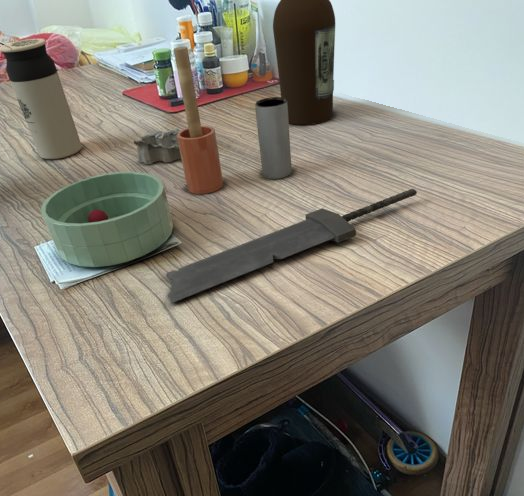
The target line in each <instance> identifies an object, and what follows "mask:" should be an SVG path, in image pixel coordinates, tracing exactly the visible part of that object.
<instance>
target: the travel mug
mask: <svg viewBox="0 0 524 496" xmlns="http://www.w3.org/2000/svg"><path fill="white" fill-rule="evenodd" d="M46 43H47V41H46V39H45V38H28V39H22V40H17V41H13V42H9V43H5V44H3V45H1V46H0V52H2V54H3V56H4V58H5V60H6V66H5V71H6V75H7V78H8V79H9V82H10V85H11V87H12V89H13V92H14V95H15V98H16V100H17V102H18V105H19V108H20V111H21V112H22V116H23V118H24V121H25V123H26V126H27V129H28V131H29V133H30V136H31V138H32V141H33V143H34V147H35V149H36V152H37V154H38V157H40V158H42V159H45V160H59V159H65V158H67V157H71V156H73V155H75V154H76V153H78V152H79V151H80V150H81V149H82V147H83V145H82V142H81V139H80V135H79V133H78V131H77V127H76V123H75V121H74V118H73V115H72V111H71V109H70V106H69V102H68V100H67V97H66V94H65V91H64V88H63V85H62V81H61V78H60V75H59V73H58V68H57V66H56V63H55V61H54V60H53V58H52V57H51V56H50V55H49V54H48V53H47V48H46V47H47V46H46Z"/></svg>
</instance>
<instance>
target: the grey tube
mask: <svg viewBox="0 0 524 496" xmlns="http://www.w3.org/2000/svg"><path fill="white" fill-rule="evenodd" d="M254 107H255V108H254V109H255V117H256V128H257V135H258V146H259V154H260V155H259V157H260V163H261V172H262V173H261V174H262V177H264V178H265V179H271V180H277V179H278V180H279V179H283V178H286V177H288V176H290V175H291V174H292V171H293V169H292V168H293V167H292V153H291V140H290V139H291V138H290V123H289V121H288V106H287V100H286V99H285V98H281V96H274V97H273V96H271V97H265V98H262V99H259V100H257V101H256V102H255V104H254Z"/></svg>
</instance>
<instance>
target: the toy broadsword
mask: <svg viewBox="0 0 524 496" xmlns="http://www.w3.org/2000/svg"><path fill="white" fill-rule="evenodd" d="M417 193H418V191H417V190H416V189H414V188H410V189H408V190H405V191H402V192H399V193H397V194H395V195H392V196H389V197H387V198H384V199H382V200H379V201H376V202H375V203H374V202H373V203H371V204H369V205H366V206H364V207H362V208H361V207H360V208H359V209H356V210H353V211H351V212H349V213H346V214H343V215H340V214H339V213H337V212H334V211H332V210H329V209H326V208H324V207H322V208H319V209H316V210H314V211H311V212H308V213H306V214H305V219H304V220H302V221H299V222H296V223H294V224H291V225H289V226H286V227H283V228H280V229H278V230H276V231H273V232H270V233H268V234H265V235H263V236H260V237H257V238H254V239H252V240H249V241H247V242H244V243H242V244H239V245H236V246H234V247H231V248H228V249H226V250H223V251H221V252H218V253H216V254H213V255H211V256H207V257H205V258H203V259H199V260H197V261H195V262H192V263H189V264H186V265H184V266H181V267H179V268H178V269H177V270H171V271H169V272H166V273H165V275H166V277H167V279H169V280H170V281H171V287H170V291H169V293H168V294H167V297H168V299H169V302H170V303H171V304H174V303H176V302H179V301H182V300H184V299H186V298H189V297H191V296H194V295H196V294H198V293H201V292H204V291H206V290H209V289H211V288H214V287H216V286H218V285H221V284H224V283H226V282H229V281H231V280H234V279H236V278H238V277H242V276H243V275H247V274H249V273H251V272H254V271H255V270H259V269H261V268H263V267H266V266H269V265H270V264H273V263H274V259H275V260H284V259H286V258H288V257H291V256H293V255H295V254H298V253H301V252H303V251H306V250H309V249H311V248H314V247H315V246H318V245H321V244H324V243H326V242H328V241H333V242H335V243H341V242H344V241H346V240H348V239H350V238H353V237H356V235H357V234H356V233H357V231H356V230H357V229H356V227H355V226H353V225H352V224H351V223H350V221H353V220H355V219H358V218H361V217H363V216H366V215H369V214H371V213H373V212H376V211H379V210H380V209H383V208H385V207H388V206H391V205H394V204H396V203H398V202H402V201H404V200H406V199H409V198H411V197H414V196H416V195H417Z"/></svg>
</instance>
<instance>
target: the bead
mask: <svg viewBox="0 0 524 496" xmlns="http://www.w3.org/2000/svg"><path fill="white" fill-rule="evenodd" d="M104 220H108V216H107V215H106V213H105V212H103V211H101V210H94V211H92V212H91V213H90V214H89V216H88V222H89V223H91V222H100V221H104Z"/></svg>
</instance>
